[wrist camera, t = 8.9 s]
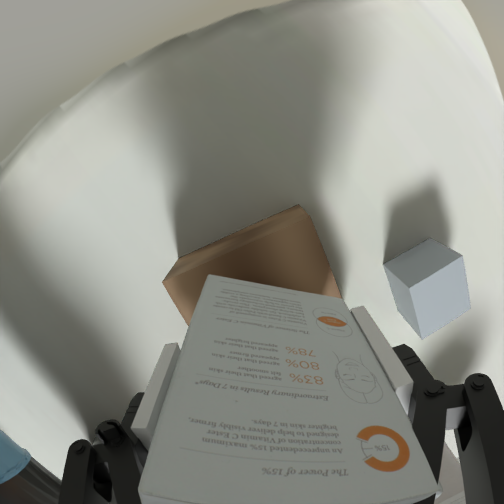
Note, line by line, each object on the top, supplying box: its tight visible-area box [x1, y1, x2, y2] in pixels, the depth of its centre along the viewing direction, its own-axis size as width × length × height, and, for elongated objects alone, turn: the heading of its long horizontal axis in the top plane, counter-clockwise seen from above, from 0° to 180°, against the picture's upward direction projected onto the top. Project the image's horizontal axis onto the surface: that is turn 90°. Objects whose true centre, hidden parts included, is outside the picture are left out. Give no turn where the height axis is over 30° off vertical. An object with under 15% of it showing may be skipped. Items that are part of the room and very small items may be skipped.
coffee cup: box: [434, 441, 466, 504], centre depth 24 cm, size 10×10×15 cm
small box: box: [138, 275, 443, 504], centre depth 12 cm, size 8×6×13 cm
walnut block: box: [162, 204, 342, 326], centre depth 22 cm, size 10×10×5 cm
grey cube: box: [383, 238, 471, 339], centre depth 22 cm, size 5×5×5 cm
